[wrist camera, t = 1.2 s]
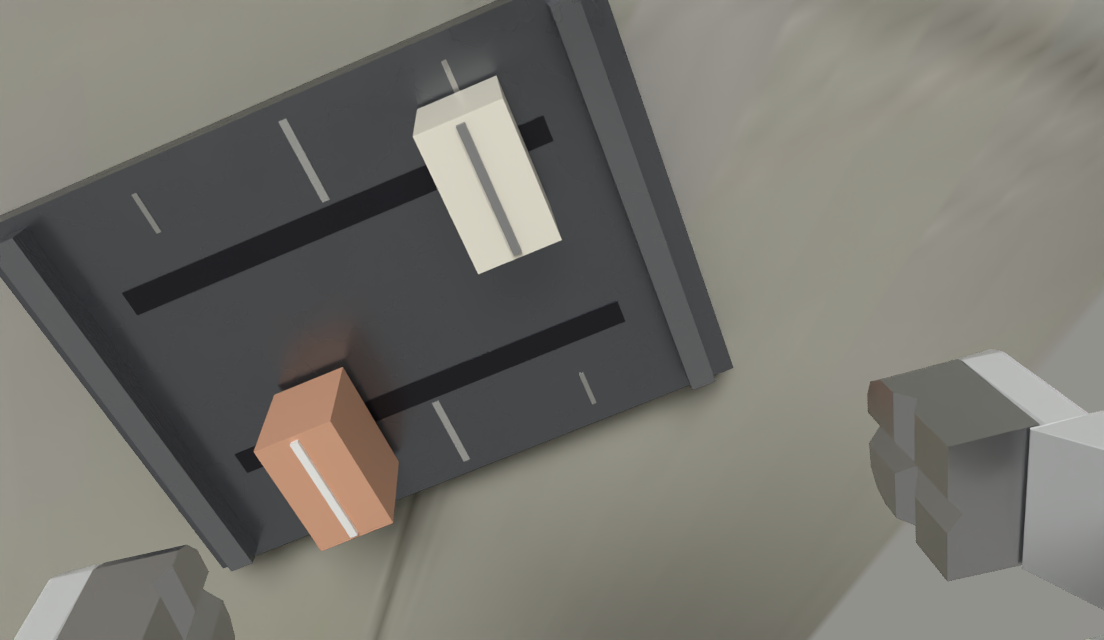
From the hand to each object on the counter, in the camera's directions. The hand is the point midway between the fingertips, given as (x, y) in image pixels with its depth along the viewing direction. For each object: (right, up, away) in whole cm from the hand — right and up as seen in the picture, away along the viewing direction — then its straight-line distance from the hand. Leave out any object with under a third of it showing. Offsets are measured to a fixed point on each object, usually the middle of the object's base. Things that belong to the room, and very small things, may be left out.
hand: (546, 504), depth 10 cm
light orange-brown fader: (-9, -2, +25) cm, 26 cm away
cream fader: (-2, +8, +21) cm, 22 cm away
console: (-7, +4, +25) cm, 26 cm away
